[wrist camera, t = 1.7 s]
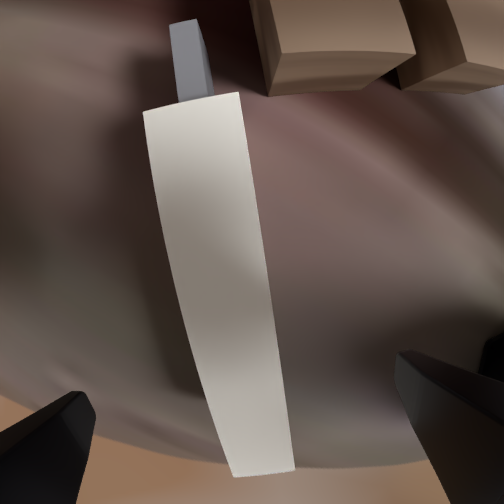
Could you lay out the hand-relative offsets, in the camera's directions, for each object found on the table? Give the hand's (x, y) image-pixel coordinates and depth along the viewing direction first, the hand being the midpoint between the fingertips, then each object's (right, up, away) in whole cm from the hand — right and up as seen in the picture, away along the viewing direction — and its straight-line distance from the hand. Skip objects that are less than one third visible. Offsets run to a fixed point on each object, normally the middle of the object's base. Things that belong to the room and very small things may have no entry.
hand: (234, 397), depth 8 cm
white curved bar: (-1, +4, +8) cm, 9 cm away
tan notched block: (+6, +17, +5) cm, 19 cm away
